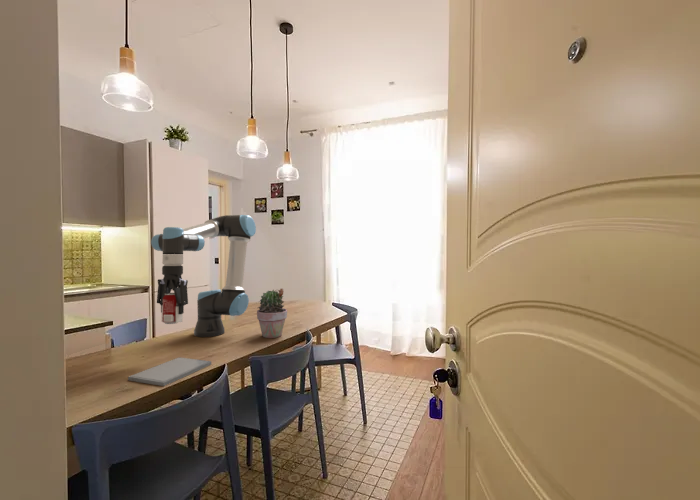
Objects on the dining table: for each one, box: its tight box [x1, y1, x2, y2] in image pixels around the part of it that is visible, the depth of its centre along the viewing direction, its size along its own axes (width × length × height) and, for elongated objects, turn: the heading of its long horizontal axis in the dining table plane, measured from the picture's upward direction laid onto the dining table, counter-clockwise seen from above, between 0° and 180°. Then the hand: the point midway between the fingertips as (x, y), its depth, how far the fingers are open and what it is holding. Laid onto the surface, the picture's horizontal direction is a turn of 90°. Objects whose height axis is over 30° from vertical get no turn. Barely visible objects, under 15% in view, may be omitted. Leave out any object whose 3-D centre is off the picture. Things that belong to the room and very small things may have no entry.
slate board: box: [127, 356, 212, 387], centre depth 123 cm, size 22×16×1 cm
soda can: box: [161, 292, 181, 325], centre depth 136 cm, size 7×7×12 cm
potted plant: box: [253, 288, 288, 339], centre depth 175 cm, size 18×20×25 cm
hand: (171, 321), depth 136 cm, fingers closed on soda can, 7 cm apart
